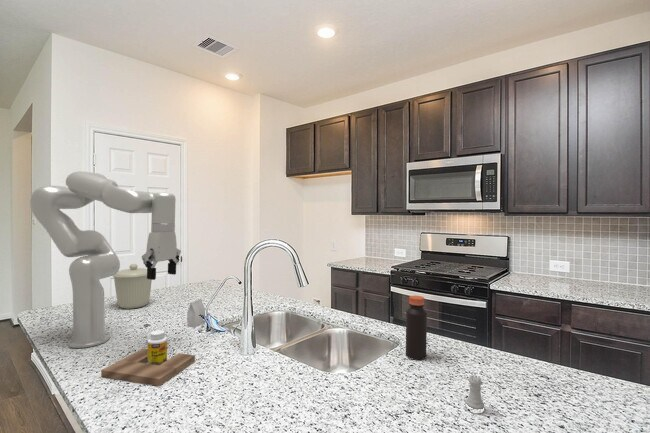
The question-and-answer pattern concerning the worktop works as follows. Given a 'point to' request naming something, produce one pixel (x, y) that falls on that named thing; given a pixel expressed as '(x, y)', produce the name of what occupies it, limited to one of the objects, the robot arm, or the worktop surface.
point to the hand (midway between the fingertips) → (162, 276)
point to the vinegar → (416, 328)
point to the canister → (132, 287)
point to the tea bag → (195, 313)
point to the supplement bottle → (157, 348)
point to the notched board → (147, 368)
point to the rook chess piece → (475, 393)
